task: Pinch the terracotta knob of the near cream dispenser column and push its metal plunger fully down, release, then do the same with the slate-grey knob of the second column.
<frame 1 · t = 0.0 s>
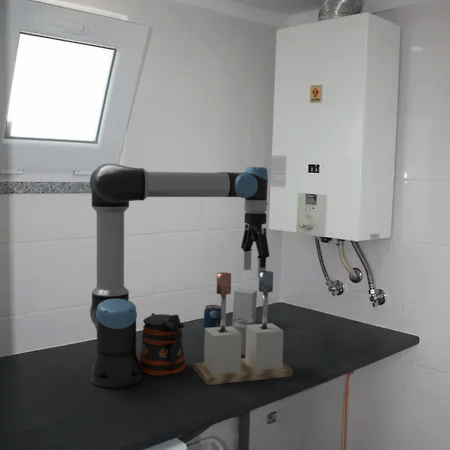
hand: (254, 273, 204), 28 cm above the worktop, fingers open, 13 cm apart
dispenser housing: (243, 348, 186), on the base board, point 8 cm above the worktop
beer stein: (165, 371, 187), on the worktop
plunger b: (265, 301, 186), point 22 cm above the worktop, slide at 0.0 cm
base board: (242, 372, 186), on the worktop
plunger a: (223, 304, 182), point 22 cm above the worktop, slide at 0.0 cm
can: (243, 353, 206), on the worktop
soda can: (212, 338, 223), on the worktop
skincare box: (244, 328, 236), on the worktop
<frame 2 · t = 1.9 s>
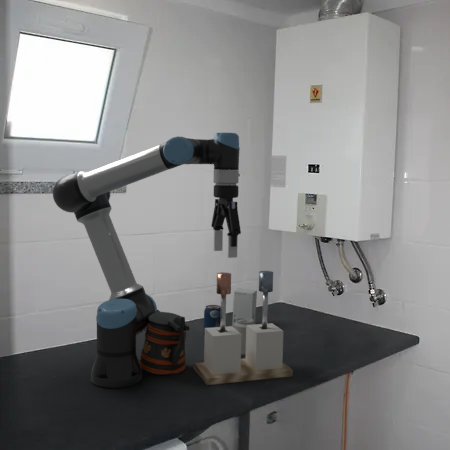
hand: (224, 254, 180), 38 cm above the worktop, fingers open, 13 cm apart
beer stein: (165, 369, 187), on the worktop, touching arm
everything else where it was.
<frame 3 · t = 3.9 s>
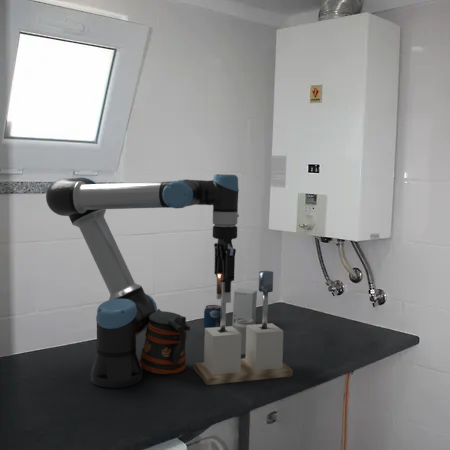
hand: (223, 300, 182), 24 cm above the worktop, fingers closed on plunger a, 4 cm apart
plunger a: (223, 304, 182), point 22 cm above the worktop, slide at 0.0 cm, touching gripper
everything else where it was.
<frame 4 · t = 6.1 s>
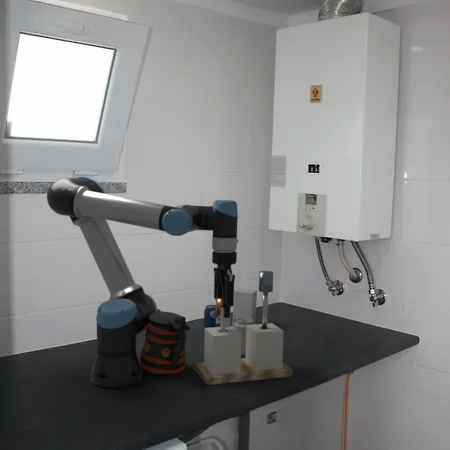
hand: (222, 325, 183), 16 cm above the worktop, fingers closed on plunger a, 4 cm apart
plunger a: (222, 328, 183), point 15 cm above the worktop, slide at 7.8 cm, touching gripper
everything else where it was.
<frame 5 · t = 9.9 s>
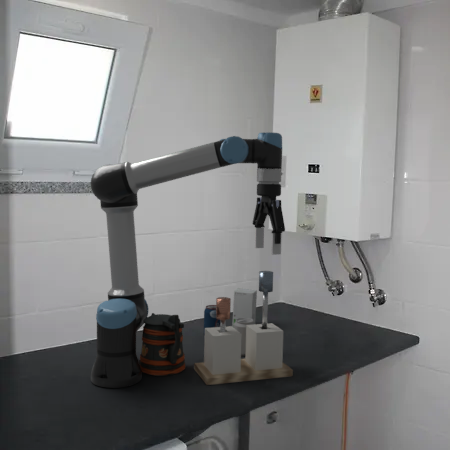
hand: (267, 251, 185), 39 cm above the worktop, fingers open, 13 cm apart
beer stein: (165, 371, 187), on the worktop
plunger a: (222, 328, 183), point 15 cm above the worktop, slide at 7.8 cm
everything else where it was.
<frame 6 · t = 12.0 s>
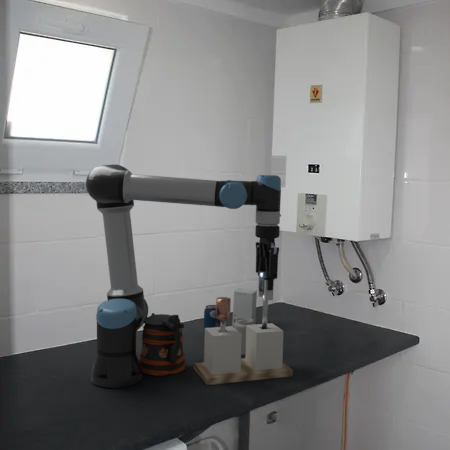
hand: (265, 298, 186), 24 cm above the worktop, fingers closed on plunger b, 4 cm apart
plunger b: (265, 301, 186), point 22 cm above the worktop, slide at 0.0 cm, touching gripper
everything else where it was.
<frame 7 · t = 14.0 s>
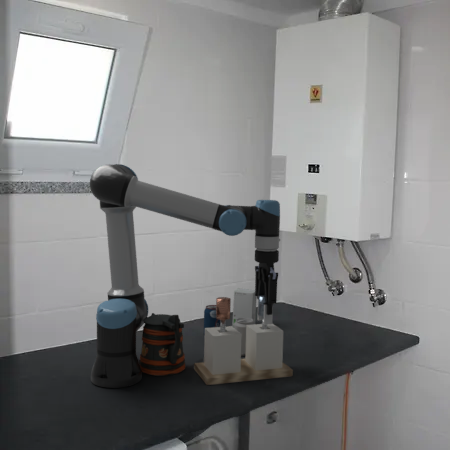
hand: (264, 321, 187), 16 cm above the worktop, fingers closed on plunger b, 4 cm apart
plunger b: (264, 325, 187), point 15 cm above the worktop, slide at 7.8 cm, touching gripper
everything else where it was.
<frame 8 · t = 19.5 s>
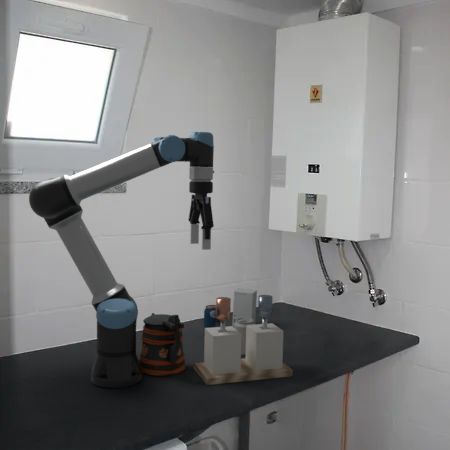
hand: (200, 246, 191), 39 cm above the worktop, fingers open, 13 cm apart
plunger b: (264, 325, 187), point 15 cm above the worktop, slide at 7.8 cm
everything else where it was.
at the end: plunger a slide at 7.8 cm; plunger b slide at 7.8 cm; the gripper is holding nothing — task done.
